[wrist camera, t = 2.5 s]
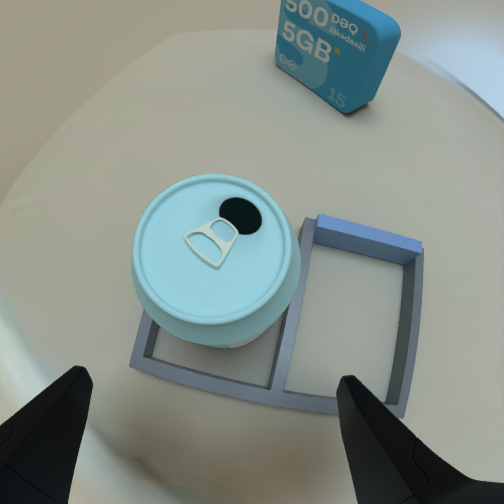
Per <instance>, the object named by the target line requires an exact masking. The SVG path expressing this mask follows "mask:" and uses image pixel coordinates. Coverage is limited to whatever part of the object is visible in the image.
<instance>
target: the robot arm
mask: <svg viewBox="0 0 504 504" xmlns="http://www.w3.org/2000/svg"><path fill="white" fill-rule="evenodd" d="M92 388H93V382H92V379H91V377H90V375H89V373H88V371H87V369H86V368H85V367H83V366H78V365H76V366H73V367H72V368H71V369H70V370H68V371H67V372H66V373H65V374H63V375H62V376H61V377H60V378H58V379H57V380H56V381H55V382H53V383H52V384H51V385H50V386H48V387H47V388H46V389H45V390H43V391H42V392H41V393H40V394H38V395H37V396H36V397H35V398H33V399H32V400H31V401H30V402H29V403H27V404H26V405H25V406H24V407H22V408H21V409H20V410H19V411H18V412H16V413H15V414H14V415H13V416H11V417H10V418H9V419H8V420H6V421H5V422H4V423H3V424H1V425H0V504H68V499H69V494H70V489H71V484H72V479H73V474H74V469H75V465H76V461H77V456H78V452H79V448H80V444H81V440H82V437H83V433H84V429H85V425H86V421H87V416H88V411H89V405H90V399H91V394H92ZM336 397H337V404H338V412H339V420H340V428H341V434H342V439H343V443H344V447H345V451H346V455H347V459H348V463H349V467H350V472H351V476H352V480H353V485H354V489H355V493H356V498H357V502H358V504H504V483H498V482H487V481H479V480H474V479H471V478H469V477H467V476H465V475H464V474H462V473H461V472H459V471H458V470H457V469H455V468H454V467H452V466H451V465H450V464H448V463H447V462H446V461H444V460H443V459H442V458H440V457H439V456H438V455H437V454H435V453H434V452H433V451H432V450H431V449H429V448H428V447H427V446H426V445H425V444H424V443H423V442H422V441H421V440H420V439H419V438H418V437H417V438H416V436H415V435H414V434H413V433H412V432H411V431H410V430H409V429H408V428H407V427H406V426H405V425H404V424H403V423H402V422H401V421H400V420H399V419H398V418H397V417H396V416H395V415H394V414H393V413H392V412H391V411H390V410H389V409H388V408H387V407H386V406H385V405H384V404H383V403H382V402H381V401H380V400H379V399H378V398H377V397H376V396H374V395H373V394H372V393H371V392H370V391H369V390H368V389H367V388H366V387H365V386H364V385H363V384H362V383H361V382H360V381H359V380H358V379H357V378H356V377H355V376H354V375H347V376H343V377H342V378H341V380H340V383H339V386H338V388H337V392H336Z"/></svg>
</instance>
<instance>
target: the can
mask: <svg viewBox="0 0 504 504" xmlns="http://www.w3.org/2000/svg"><path fill="white" fill-rule="evenodd" d="M300 270H301V254H300V248H299V243H298V239H297V236H296V234H295V231H294V229H293V227H292V225H291V223H290V221H289V219H288V218H287V216H286V215H285V214H284V212H283V211H282V210H281V208H280V207H279V205H278V204H277V203H276V201H275V200H274V199H273V198H272V197H271V196H270V195H269V194H268V193H267V192H266V191H264V190H263V189H262V188H260V187H259V186H257V185H255V184H254V183H252V182H250V181H248V180H245V179H242V178H240V177H236V176H232V175H226V174H203V175H197V176H193V177H190V178H187V179H184V180H181V181H179V182H177V183H175V184H173V185H172V186H170V187H168V188H167V189H165V190H164V191H163V192H162V193H160V194H159V195H158V196H157V197H156V198H155V199H154V200H153V201H152V202H151V203H150V205H149V206H148V207H147V209H146V210H145V211H144V213H143V215H142V217H141V218H140V221H139V223H138V225H137V228H136V231H135V235H134V240H133V250H132V257H131V272H132V279H133V284H134V287H135V291H136V293H137V296H138V298H139V300H140V302H141V304H142V306H143V307H144V309H145V310H146V312H147V313H148V314H149V316H150V317H151V318H152V319H153V320H154V321H155V322H156V323H157V324H158V325H159V326H160V327H162V328H163V329H164V330H166V331H167V332H169V333H170V334H172V335H174V336H176V337H178V338H180V339H183V340H185V341H188V342H192V343H196V344H200V345H205V346H210V347H214V348H221V349H231V348H237V347H241V346H244V345H246V344H248V343H250V342H252V341H253V340H255V339H256V338H258V337H259V336H260V335H261V334H262V333H263V332H264V331H265V330H266V329H267V328H268V327H270V326H271V325H272V324H273V323H274V322H275V321H276V320H277V319H278V318H279V317H280V316H281V314H282V313H283V312H284V311H285V309H286V308H287V306H288V305H289V303H290V301H291V299H292V297H293V295H294V293H295V291H296V288H297V285H298V281H299V277H300Z"/></svg>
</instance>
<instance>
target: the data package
mask: <svg viewBox="0 0 504 504" xmlns="http://www.w3.org/2000/svg"><path fill="white" fill-rule="evenodd" d="M400 37H401V30H400V27H399V25H398V23H397V22H396V21H395V20H394V19H393V18H392V17H390V16H389V15H387V14H385V13H383V12H381V11H379V10H378V9H376V8H374V7H372V6H370V5H368V4H366V3H364V2H362V1H360V0H281V6H280V15H279V24H278V32H277V41H276V50H275V60H276V62H277V64H278V66H279V67H280V68H281V69H282V70H283V71H285V72H286V73H288V74H289V75H291V76H292V77H294V78H295V79H297V80H298V81H300V82H301V83H302V84H304V85H305V86H307V87H308V88H309V89H311V90H312V91H314V92H315V93H316V94H318V95H319V96H320V97H322V98H323V99H324V100H326V101H327V102H328V103H329V104H331V105H332V106H333V107H335V108H336V109H337V110H339V111H340V112H343V113H349V112H351V111H353V110H355V109H357V108H359V107H360V106H362V105H364V104H366V103H368V102H370V101H371V100H373V98H374V97H375V94H376V92H377V90H378V88H379V86H380V83H381V81H382V79H383V77H384V74H385V72H386V70H387V68H388V65H389V63H390V61H391V58H392V56H393V54H394V51H395V49H396V47H397V44H398V42H399V39H400Z"/></svg>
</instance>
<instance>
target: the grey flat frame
mask: <svg viewBox="0 0 504 504" xmlns="http://www.w3.org/2000/svg"><path fill="white" fill-rule="evenodd" d="M298 243H299V248H300V254H301V270H300V277H299V281H298V285H297V288H296V291H295V293H294V295H293V297H292V299H291V301H290V303H289V305H288V306H287V308H286V309H285V313H284V318H283V322H282V327H281V332H280V336H279V341H278V345H277V350H276V354H275V359H274V363H273V368H272V372H271V376H270V380H269V385H268V387H265V386H260V385H255V384H250V383H246V382H241V381H237V380H232V379H228V378H224V377H220V376H216V375H212V374H208V373H204V372H200V371H197V370H193V369H190V368H186V367H183V366H179V365H176V364H172V363H169V362H166V361H163V360H160V359H156V358H153V357H151V356H152V352H153V348H154V344H155V340H156V336H157V332H158V328H159V325H158V324H157V323H156V322H155V321H154V320H153V319H152V318H151V317H150V316H149V314H148V313H147V312H146V310H145V309H144V310H143V314H142V318H141V321H140V325H139V329H138V333H137V336H136V340H135V344H134V348H133V352H132V356H131V360H130V365H129V367H131V368H134V369H136V370H139V371H142V372H145V373H148V374H151V375H154V376H157V377H160V378H163V379H166V380H169V381H173V382H176V383H179V384H183V385H186V386H190V387H193V388H197V389H201V390H204V391H208V392H212V393H216V394H220V395H224V396H228V397H233V398H237V399H242V400H246V401H251V402H256V403H261V404H266V405H272V406H277V407H283V408H289V409H296V410H303V411H310V412H318V413H326V414H336V415H339V412H338V404H337V398H334V397H326V396H318V395H311V394H305V393H298V392H292V391H286V390H283V389H284V385H285V381H286V376H287V372H288V367H289V363H290V358H291V354H292V349H293V345H294V340H295V335H296V330H297V325H298V320H299V315H300V310H301V305H302V300H303V294H304V289H305V283H306V278H307V272H308V266H309V261H310V255H311V248H312V243H316V244H320V245H325V246H329V247H333V248H337V249H341V250H346V251H350V252H354V253H358V254H362V255H366V256H370V257H374V258H378V259H382V260H386V261H390V262H394V263H398V264H402V265H404V277H403V291H402V303H401V313H400V322H399V330H398V337H397V344H396V351H395V357H394V363H393V369H392V375H391V380H390V385H389V390H388V395H387V399H386V402H382V403H383V404H384V405H385V406H386V407H387V408H388V409H389V410H390V411H391V412H392V413H393V414H394V415H395V416H396V417H397V418H404V414H405V410H406V406H407V401H408V396H409V392H410V387H411V381H412V376H413V370H414V364H415V357H416V351H417V343H418V335H419V326H420V316H421V304H422V289H423V261H424V248H422V242H421V241H418V240H415V239H411V238H408V237H404V236H401V235H397V234H394V233H390V232H387V231H383V230H380V229H376V228H372V227H369V226H365V225H361V224H357V223H354V222H350V221H346V220H342V219H338V218H334V217H330V216H326V215H322V214H319V215H318V217H317V219H316V220H315V219H311V218H307V217H306V218H305V220H304V222H303V224H302V226H301V229H300V235H299V241H298Z"/></svg>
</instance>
